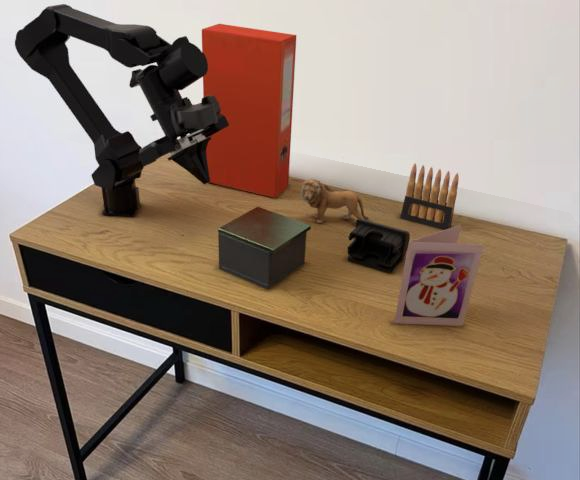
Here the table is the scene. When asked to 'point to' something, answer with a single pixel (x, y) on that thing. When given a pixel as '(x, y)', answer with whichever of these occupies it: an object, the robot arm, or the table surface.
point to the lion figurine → (330, 199)
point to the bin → (260, 260)
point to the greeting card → (437, 279)
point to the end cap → (377, 245)
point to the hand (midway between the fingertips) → (207, 183)
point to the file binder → (250, 106)
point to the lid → (264, 229)
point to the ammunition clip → (430, 199)
